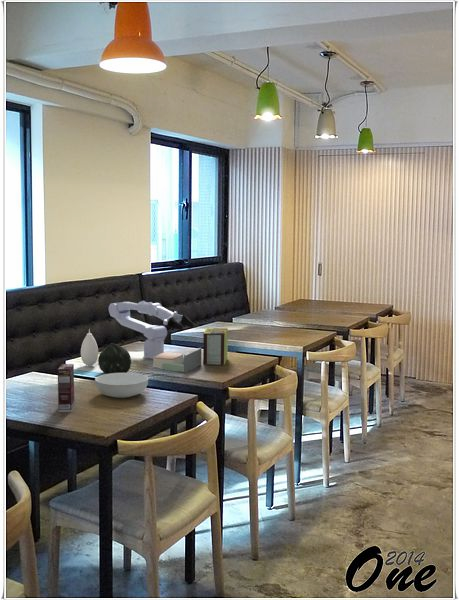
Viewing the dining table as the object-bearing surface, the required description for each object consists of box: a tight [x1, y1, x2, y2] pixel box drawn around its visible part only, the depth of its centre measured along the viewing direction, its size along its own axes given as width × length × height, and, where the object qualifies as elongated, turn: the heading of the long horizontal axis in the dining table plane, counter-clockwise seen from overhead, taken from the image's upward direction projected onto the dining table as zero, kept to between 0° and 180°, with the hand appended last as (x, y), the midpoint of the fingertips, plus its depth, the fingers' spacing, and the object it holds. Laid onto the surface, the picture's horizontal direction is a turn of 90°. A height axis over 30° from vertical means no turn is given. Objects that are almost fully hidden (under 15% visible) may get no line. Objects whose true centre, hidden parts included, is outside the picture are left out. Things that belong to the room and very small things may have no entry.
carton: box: [152, 351, 184, 369], centre depth 313 cm, size 10×12×5 cm
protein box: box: [202, 327, 229, 366], centre depth 323 cm, size 10×15×16 cm
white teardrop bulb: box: [80, 328, 99, 368], centre depth 308 cm, size 8×8×18 cm
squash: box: [97, 342, 132, 375], centre depth 295 cm, size 14×15×15 cm
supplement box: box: [57, 363, 76, 413], centre depth 240 cm, size 9×5×16 cm, turn 5°
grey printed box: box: [161, 347, 203, 373], centre depth 310 cm, size 12×18×8 cm
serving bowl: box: [94, 372, 149, 399], centre depth 261 cm, size 21×21×7 cm
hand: (187, 326), depth 316 cm, fingers open, 7 cm apart
